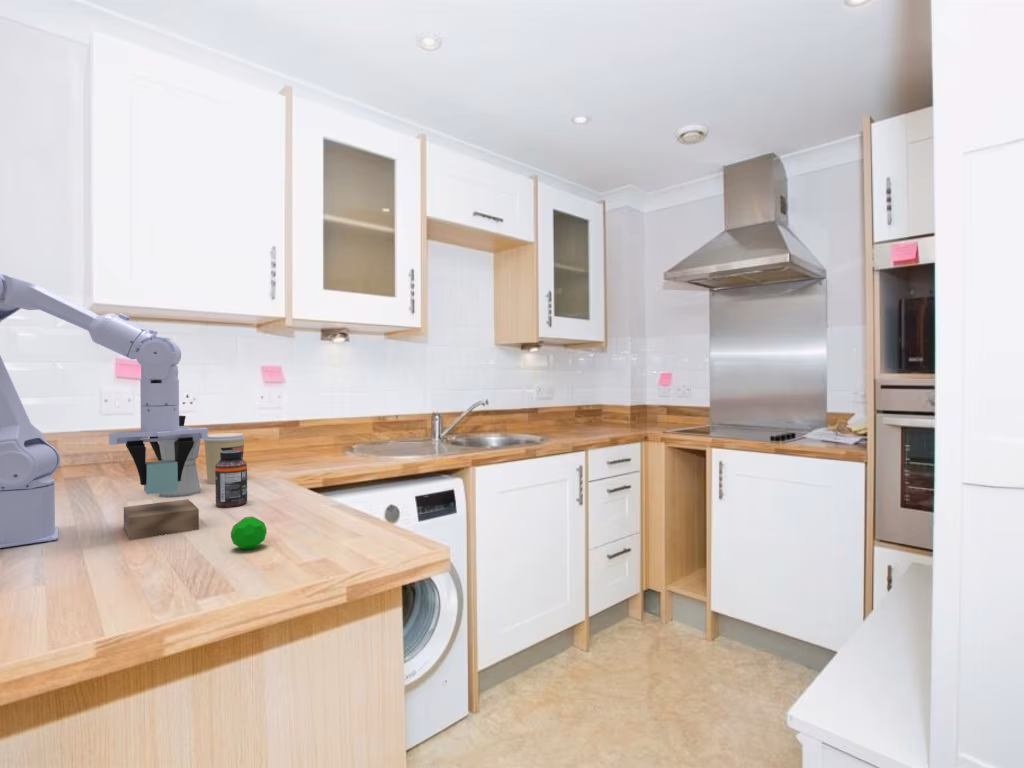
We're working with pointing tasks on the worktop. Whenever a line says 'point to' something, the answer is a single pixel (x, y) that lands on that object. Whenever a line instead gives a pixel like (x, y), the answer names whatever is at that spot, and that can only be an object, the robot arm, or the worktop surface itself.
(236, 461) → the supplement bottle
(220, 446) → the coffee cup
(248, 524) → the polyhedron
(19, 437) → the robot arm
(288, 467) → the worktop surface
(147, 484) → the teal block
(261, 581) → the worktop surface
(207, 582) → the worktop surface
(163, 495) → the coffee maker
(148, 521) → the walnut block
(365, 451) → the worktop surface
